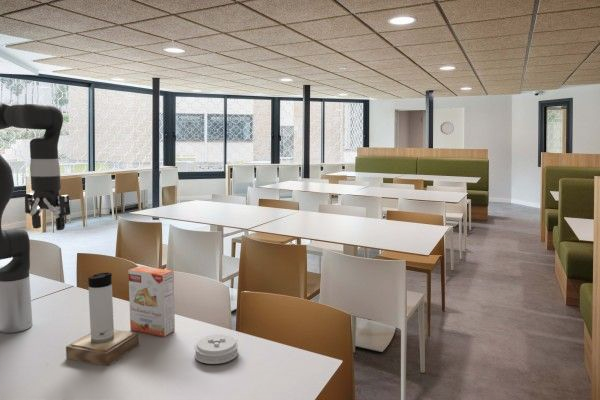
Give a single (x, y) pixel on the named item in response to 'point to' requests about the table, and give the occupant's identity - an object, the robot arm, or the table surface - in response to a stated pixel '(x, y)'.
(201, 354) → the lid
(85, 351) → the walnut riser
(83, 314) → the table surface
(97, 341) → the travel mug
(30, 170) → the robot arm
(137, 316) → the cracker box
